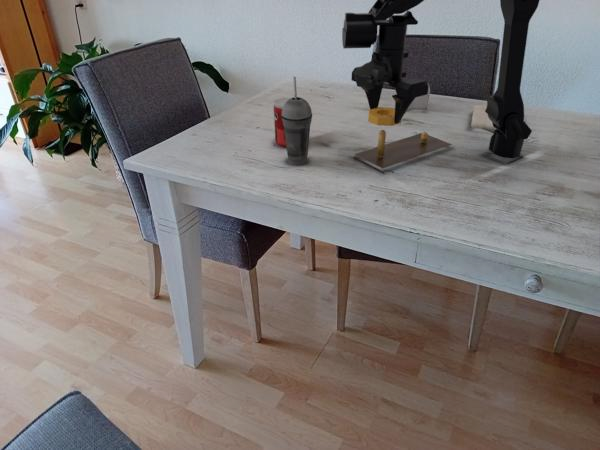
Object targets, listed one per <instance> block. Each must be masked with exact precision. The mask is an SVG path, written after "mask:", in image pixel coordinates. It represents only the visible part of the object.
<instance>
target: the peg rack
mask: <svg viewBox="0 0 600 450" xmlns="http://www.w3.org/2000/svg"><path fill="white" fill-rule="evenodd" d="M386 137H387V132H386V130H384V129H381V130H379V132H378V139H377V141H378V142H377V146H376V147H372V148H369V149H366V150H363V151H360V152H357V153H354V155H355V156H354V157H353V159H354V160H355V161H358V162H360V163H362V164H364V165H366V166H368V167H369V168H371V169H374V170H375V171H378V172H379V173H381V174H384V172H385V171H384V170H381V169H386V168H389V167H392V166H394V165H397V164H401V163H403V162H406V161H409V160H411V159H414V158H417V157H420V156H423V155H426V154H428V153H432V152H434V151H438V150H440V149H442V148H446V147H448V146H452V143H450V142H447V141H444V140H442V139H439V138H438V137H434V136H432V135H429V134H428V132H425V131H424V132H420V133H417V134H414V135H410V136H408V137H407V136H406V137H405V138H402V139H397V140H395V141H392V142H389V143H386ZM356 156H357V157H359V158H357V157H356ZM360 158H361V159H362V160H361V159H360ZM363 160H365V161H363ZM366 161H367V162H369V163H371V164H373V165H374V166H373V165H371V164H369V163H367V162H366ZM375 166H376V167H375ZM377 167H378V168H377ZM379 168H380V169H379Z"/></svg>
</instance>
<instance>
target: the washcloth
mask: <svg viewBox="0 0 600 450" xmlns="http://www.w3.org/2000/svg"><path fill="white" fill-rule="evenodd" d="M486 108H487V104H476V105H475V106H474V107H473V110H472V116H471V123H470V129H479V130H482V131H483V130H484V131H487V132H490V133H494V130H497V129H496V128H494V127H493V123H492V121H491V120H490V119H489V118H488V114H487V113H486V112H485V110H486Z"/></svg>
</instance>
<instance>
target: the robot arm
mask: <svg viewBox="0 0 600 450" xmlns="http://www.w3.org/2000/svg"><path fill="white" fill-rule="evenodd" d="M424 1H425V0H376V1H375V2H374V4H373V5H372V7H370V9H369V11H368V12H364V13H363V12H362V13H360V12H359V13H358V12H357V13H355V12H345V13H344V20H343V27H342V29H341V30H342V31H341V32H342V34H341V37H342V48H343V49H371V47H372V46H373V45H375V43H377V50H376V51H372V54H371V59H370V61H368V62H366V63H364V64H363V65H361V66H357V67H354V68H353V69H352V71H351V81H352V82H355V84H356V86H357V88H361V89H362V90H363V91H364V93H365V96H366V98H367V102H368V107H369V110H370V109H374V108H378V107H379V105H380V99H381V96H382V91H383V87H384V85H385V86H389V87H391V88H395V93H396V94H393V95H391V97H392V99H393V100H394V101H395V103H394V108H395V116H394V119H395V124H396V125H398V124H397V123H399V122H400V120H401V121H402V119H403V117H404V116H405V114H406V112H408V111H407V109H408V107H409V106H410V104H411V103H412V102H413V100H414V99H415V98H416V97H420V96H423V95H427V94H428V88H429V87H430V84H429V83H428V81H427V80H426V79H425V80H424V79H422V78H421V79H420V78H418V77H411V78H407V79H404V78H406V77H407V72H406V71H404V69H403V68H404V61H405V59H407V58H409V51H405V50H406V40H407V32H408V26H415V25H418V24H419V21H418V20H417V19H416V18H415V16H414V15H413V13H412V11H411V9H413V8H415V7H417V6H419V5H420V4H421V3H423V2H424ZM499 1H500V10H501V13H502V17H503V21H504V25H503V34H502V42H501V43H502V44H501V53H500V60H499V61H500V62H499V71H498V81H497V88H496V90H495V92H494V93H493V95H487V96H486V105H487V108H486V110H485V112H486V113H487V114H488V118H489V119H490V120H491V121H492V123H493V127H494V128H496V129H497V130H494V132H493V134H492V135H491V136H490V140H489V146H488V150H489V151H490V152H491V153H492V154H493V155H495V156H497V157H501V158H508V159H514V160H512V161H510V162H507V163H506V164H507V165H510V164H511V163H514V162H517V161H519V160H522V159H523V158H524V156H521V153H522V150H523V146H524V141H525V140H528V139H529V137H530V135H531V134H532V132H533V130H532V129H531V128H530V126H529V125H528V124H527V123H526V121H525V105H524V100H523V96H522V93H521V85H522V79H523V69H524V63H525V56H526V49H527V40H528V33H529V26H530V21H531V19H532V18H533V16H534V14H535V13H536V11H537V9H538V7H539V3H540V1H541V0H499ZM399 124H400V123H399ZM519 156H521V157H519ZM517 157H518V158H517ZM515 158H517V159H515Z"/></svg>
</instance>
